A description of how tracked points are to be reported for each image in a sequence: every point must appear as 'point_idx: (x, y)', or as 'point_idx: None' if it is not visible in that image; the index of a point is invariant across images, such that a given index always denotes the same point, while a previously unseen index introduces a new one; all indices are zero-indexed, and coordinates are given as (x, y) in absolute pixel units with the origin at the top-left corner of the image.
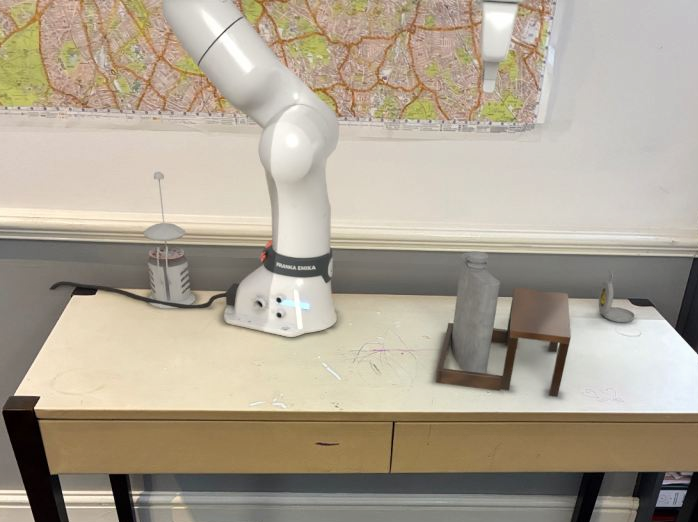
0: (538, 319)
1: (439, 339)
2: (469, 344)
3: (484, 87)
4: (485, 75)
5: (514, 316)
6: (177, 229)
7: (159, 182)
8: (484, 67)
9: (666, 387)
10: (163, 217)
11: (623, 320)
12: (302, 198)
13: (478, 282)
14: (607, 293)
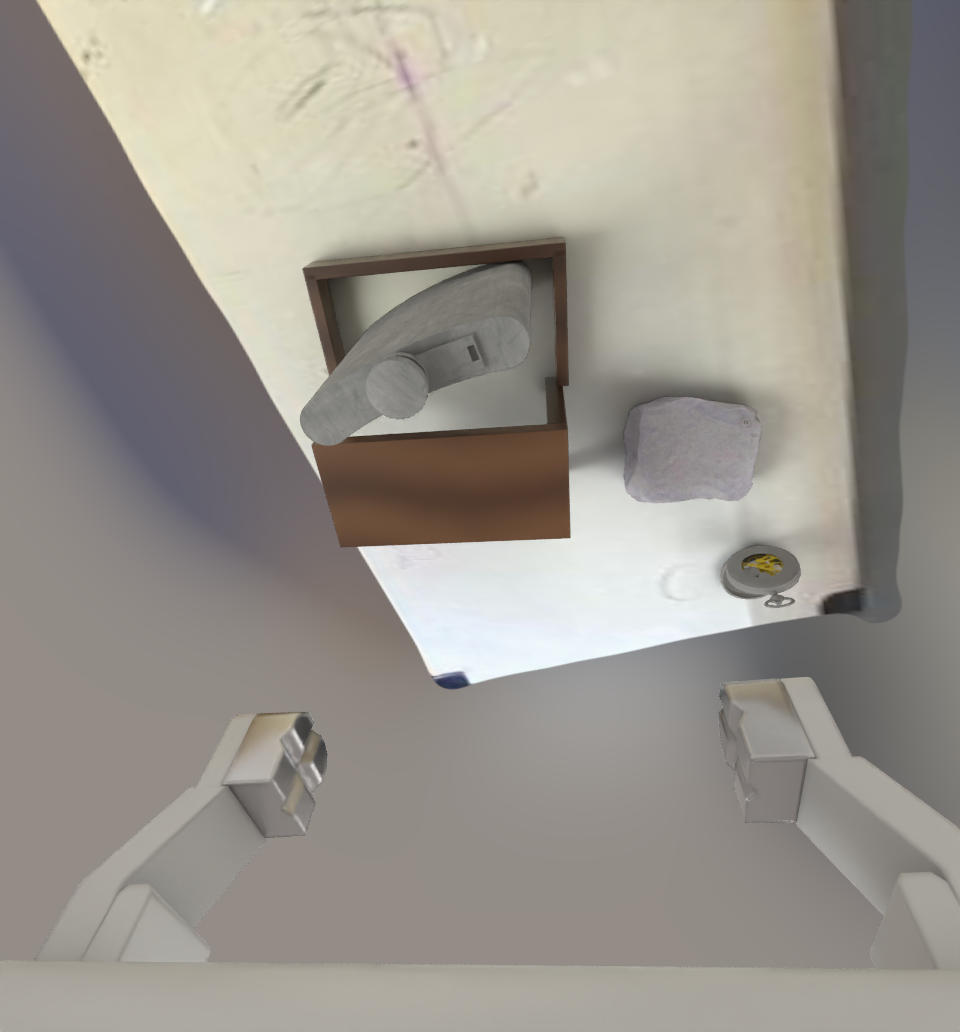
0: (395, 491)
1: (529, 223)
2: (366, 336)
3: (228, 738)
4: (159, 821)
5: (387, 446)
6: None
7: None
8: (822, 786)
9: (477, 620)
10: None
11: (721, 581)
12: None
13: (322, 391)
14: (745, 579)
